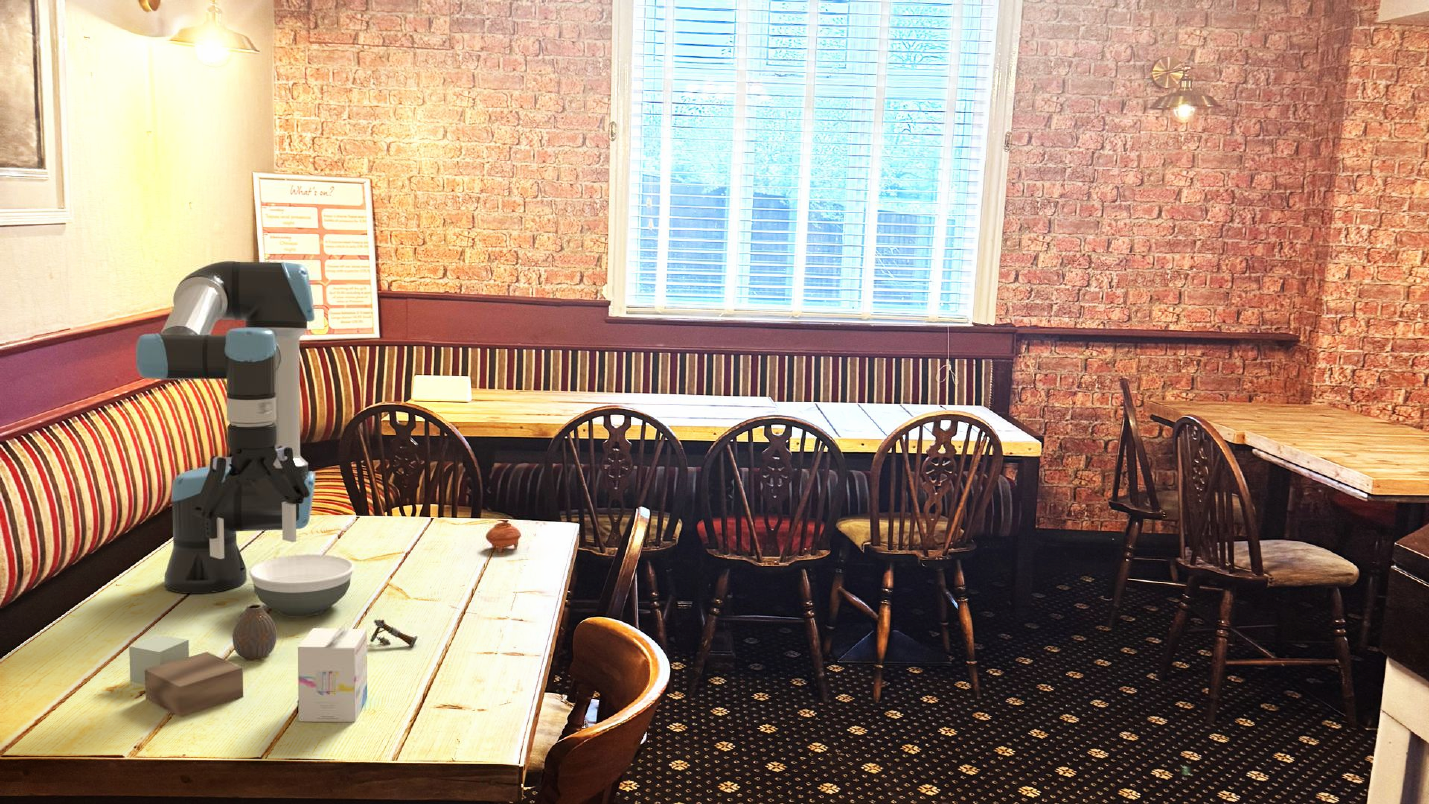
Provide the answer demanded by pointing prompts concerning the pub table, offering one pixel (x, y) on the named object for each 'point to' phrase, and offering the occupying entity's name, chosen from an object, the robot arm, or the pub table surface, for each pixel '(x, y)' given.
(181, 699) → the plinth
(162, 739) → the pub table surface
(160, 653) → the sage cube
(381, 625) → the wooden post with brackets
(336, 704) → the ink box
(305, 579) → the bowl
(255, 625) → the vase
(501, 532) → the pot
